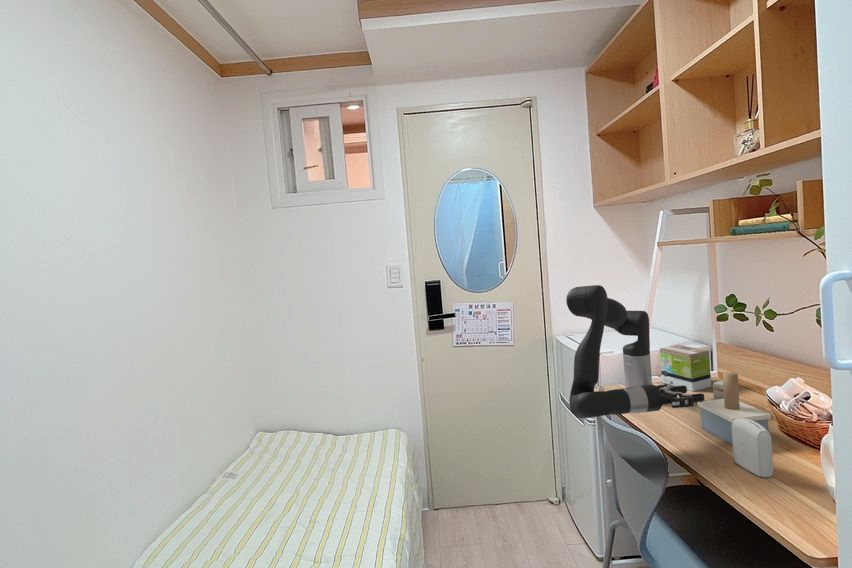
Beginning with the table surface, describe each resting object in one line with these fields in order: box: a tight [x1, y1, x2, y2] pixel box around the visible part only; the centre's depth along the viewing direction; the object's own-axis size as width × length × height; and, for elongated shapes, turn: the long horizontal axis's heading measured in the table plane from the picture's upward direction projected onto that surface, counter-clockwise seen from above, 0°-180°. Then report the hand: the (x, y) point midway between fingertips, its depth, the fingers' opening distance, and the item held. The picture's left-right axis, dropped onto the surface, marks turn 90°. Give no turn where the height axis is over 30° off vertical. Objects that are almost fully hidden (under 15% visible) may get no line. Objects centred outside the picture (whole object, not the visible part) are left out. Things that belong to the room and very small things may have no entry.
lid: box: [696, 371, 772, 423], centre depth 144 cm, size 16×11×11 cm
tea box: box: [659, 344, 712, 392], centre depth 195 cm, size 15×10×15 cm, turn 21°
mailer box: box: [699, 407, 770, 447], centre depth 145 cm, size 15×10×7 cm, turn 3°
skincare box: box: [712, 379, 724, 400], centre depth 163 cm, size 5×4×10 cm
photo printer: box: [732, 418, 774, 478], centre depth 124 cm, size 10×4×12 cm, turn 3°
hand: (694, 392), depth 144 cm, fingers open, 8 cm apart
